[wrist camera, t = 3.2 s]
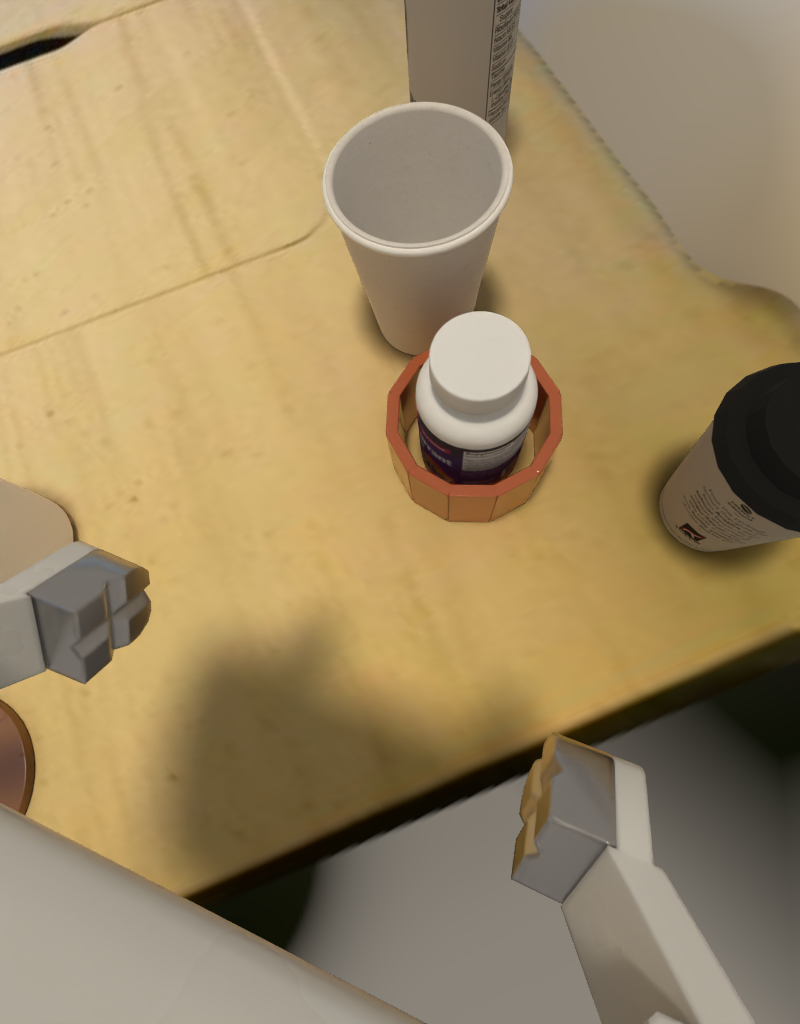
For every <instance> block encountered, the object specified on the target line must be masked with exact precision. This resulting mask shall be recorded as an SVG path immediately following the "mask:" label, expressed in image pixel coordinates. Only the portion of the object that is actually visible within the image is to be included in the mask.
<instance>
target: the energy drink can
mask: <svg viewBox="0 0 800 1024" xmlns="http://www.w3.org/2000/svg"><path fill="white" fill-rule="evenodd" d="M404 3H405V21H406V38H407V55H408V72H409V89H410V103H412V102H437V103H444V104H449V105H453V106H456V107H459V108H462V109H465V110H467V111H469V112H471V113H473V114H475V115H477V116H478V117H480V118H482V119H483V120H484V121H486V122H487V123H488V124H490V125H491V126H492V127H493V128H494V129H495V130H496V131H497V132H498V134H499V135H500V136H501V138H502V139H503V141H504V142H505V134H506V126H507V117H508V109H509V100H510V92H511V83H512V75H513V66H514V58H515V49H516V41H517V32H518V24H519V15H520V6H521V0H404Z"/></svg>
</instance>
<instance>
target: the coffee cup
mask: <svg viewBox="0 0 800 1024" xmlns="http://www.w3.org/2000/svg"><path fill="white" fill-rule="evenodd" d="M659 509H660V514H661V519H662V521H663V523H664V525H665V526H666V528H667V530H668V532H669V533H670V534H672V535H673V536H674V537H675V538H676V539H677V540H678V541H679V542H681V543H682V544H684V545H686V546H688V547H690V548H692V549H696V550H700V551H704V552H713V551H723V550H729V549H735V548H740V547H746V546H752V545H758V544H763V543H769V542H775V541H780V540H786V539H792V538H797V537H800V362H797V363H785V364H779V365H775V366H771V367H769V368H766V369H763V370H761V371H758V372H756V373H753V374H751V375H748V376H746V377H745V378H744V379H742V380H741V381H740V382H739V383H738V384H736V385H735V386H734V387H733V388H732V389H731V390H729V391H728V392H727V393H726V395H725V397H724V398H723V400H722V402H721V404H720V406H719V408H718V409H717V411H716V413H715V415H714V420H713V421H712V423H711V424H710V425H709V427H708V428H707V429H706V431H705V432H704V433H703V435H702V436H701V437H700V439H699V440H698V441H697V443H696V444H695V445H694V447H693V448H692V449H691V451H690V452H689V453H688V455H687V456H686V457H685V459H684V460H683V461H682V463H681V464H680V466H679V467H678V468H677V470H676V471H675V472H674V474H673V475H672V476H671V478H670V479H669V480H668V482H667V483H666V485H665V487H664V489H663V490H662V492H661V495H660V502H659Z"/></svg>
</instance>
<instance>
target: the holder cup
mask: <svg viewBox="0 0 800 1024" xmlns="http://www.w3.org/2000/svg"><path fill="white" fill-rule="evenodd" d="M429 351H430V349H429V350H427V351H425V352H423V353H421V354H420V355H418V356H416V357H414V358H413V359H412V360H411V361H410V362H409V364H408V365H407V366H406V368H405V369H404V371H403V372H402V374H401V375H400V377H399V378H398V380H397V381H396V383H395V384H394V385H393V387H392V388H391V390H390V391H389V394H388V402H387V421H386V436H387V441H388V445H389V449H390V453H391V457H392V461H393V465H394V469H395V470H396V472H397V474H398V476H399V477H400V479H401V481H402V483H403V484H404V486H405V488H406V490H407V492H408V493H409V495H410V497H411V499H412V500H414V502H416V503H418V504H419V505H421V506H423V507H424V508H426V509H428V510H430V511H431V512H433V513H435V514H437V515H438V516H440V517H442V518H443V519H445V520H448V521H468V522H489V521H492V520H494V519H496V518H498V517H500V516H502V515H504V514H505V513H507V512H509V511H511V510H513V509H515V508H517V507H519V506H520V505H522V504H524V503H525V502H526V501H527V500H528V498H529V497H530V495H531V493H532V492H533V490H534V488H535V487H536V485H537V483H538V482H539V480H540V478H541V476H542V475H543V473H544V471H545V470H546V468H547V466H548V464H549V462H550V460H551V458H552V456H553V454H554V452H555V450H556V448H557V446H558V445H559V443H560V441H561V439H562V435H563V427H562V406H561V394H560V391H559V389H558V388H557V387H556V385H555V384H554V382H553V381H552V380H551V378H550V377H549V375H548V374H547V372H546V371H545V370H544V368H543V367H542V365H541V364H540V362H539V361H538V360H537V358H535V356H532V355H531V363H530V364H531V366H532V368H533V370H534V373H535V376H536V380H537V385H538V398H537V403H536V408H535V411H534V414H533V417H532V420H531V423H530V425H529V427H530V428H531V430H532V431H533V433H534V452H535V459H534V460H533V462H532V463H531V465H530V466H529V467H527V468H525V469H523V470H521V471H519V472H518V473H516V474H514V475H512V476H510V477H508V478H506V479H504V480H502V481H501V482H499V483H497V484H495V485H452V484H450V483H448V482H447V481H445V480H443V479H441V478H439V477H438V476H436V475H434V474H432V473H430V472H429V471H427V470H425V469H423V468H422V467H420V466H418V465H417V464H416V462H415V460H414V459H413V457H412V455H411V453H410V452H409V450H408V448H407V447H406V445H405V440H406V432H407V430H408V429H409V427H410V426H411V424H412V423H413V421H414V420H415V418H416V417H417V408H416V399H415V396H416V384H417V379H418V376H419V373H420V371H421V368H422V367H423V365H424V363H425V362H426V360H427V359H428V358H429Z"/></svg>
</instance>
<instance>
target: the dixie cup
mask: <svg viewBox="0 0 800 1024" xmlns="http://www.w3.org/2000/svg"><path fill="white" fill-rule="evenodd" d="M512 183H513V165H512V160H511V156H510V153H509V150H508V148H507V146H506V144H505V142H504V141H503V139H502V138H501V136H500V135H499V134H498V132H497V131H496V130H495V129H494V128H493V127H492V126H491V125H490V124H488V123H487V122H486V121H484V120H483V119H482V118H480V117H478V116H477V115H475V114H473V113H471V112H469V111H467V110H465V109H462V108H459V107H456V106H453V105H449V104H444V103H437V102H412V103H405V104H400V105H396V106H392V107H389V108H386V109H383V110H380V111H378V112H376V113H374V114H372V115H370V116H368V117H366V118H365V119H363V120H361V121H360V122H359V123H357V124H356V125H355V126H353V127H352V128H351V129H350V130H349V131H347V132H346V133H345V134H344V135H343V137H342V138H341V139H340V140H339V141H338V142H337V144H336V145H335V147H334V148H333V150H332V152H331V153H330V155H329V157H328V160H327V162H326V165H325V168H324V173H323V179H322V191H323V198H324V202H325V205H326V208H327V210H328V213H329V215H330V216H331V218H332V220H333V221H334V223H335V224H336V225H337V227H338V228H339V229H340V230H341V233H342V235H343V238H344V240H345V243H346V245H347V247H348V250H349V252H350V255H351V257H352V260H353V262H354V265H355V267H356V270H357V272H358V275H359V277H360V280H361V282H362V285H363V287H364V290H365V292H366V295H367V297H368V300H369V302H370V305H371V307H372V310H373V312H374V315H375V317H376V320H377V322H378V325H379V327H380V330H381V332H382V334H383V336H384V337H385V339H386V340H387V341H388V342H389V343H390V344H391V345H392V346H393V347H395V348H396V349H398V350H400V351H402V352H404V353H407V354H410V355H415V356H418V355H420V354H421V353H423V352H425V351H427V350H429V349H430V347H431V344H432V341H433V339H434V337H435V335H436V334H437V332H438V331H439V330H440V328H441V327H442V326H443V325H444V324H446V323H447V322H448V321H450V320H451V319H453V318H455V317H457V316H459V315H462V314H465V313H469V312H473V311H474V307H475V304H476V300H477V295H478V291H479V287H480V284H481V280H482V277H483V273H484V269H485V266H486V262H487V258H488V255H489V251H490V248H491V244H492V240H493V237H494V233H495V229H496V226H497V222H498V218H499V215H500V214H501V212H502V210H503V209H504V207H505V205H506V203H507V201H508V198H509V196H510V192H511V189H512Z"/></svg>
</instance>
